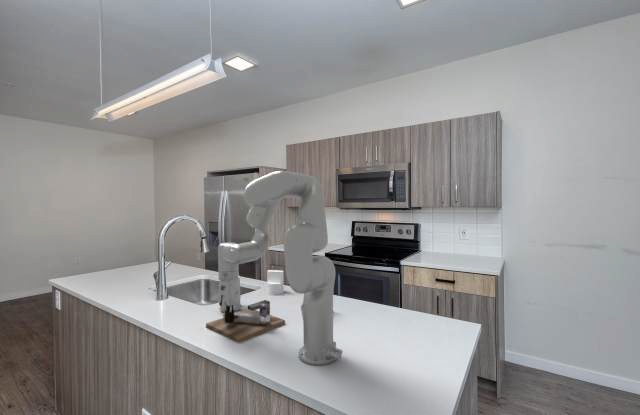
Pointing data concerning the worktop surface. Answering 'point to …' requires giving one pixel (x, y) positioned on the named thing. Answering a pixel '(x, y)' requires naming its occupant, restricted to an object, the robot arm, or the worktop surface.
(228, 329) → the board
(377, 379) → the worktop surface
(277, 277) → the cylinder with rectangular tab
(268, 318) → the link
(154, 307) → the worktop surface
